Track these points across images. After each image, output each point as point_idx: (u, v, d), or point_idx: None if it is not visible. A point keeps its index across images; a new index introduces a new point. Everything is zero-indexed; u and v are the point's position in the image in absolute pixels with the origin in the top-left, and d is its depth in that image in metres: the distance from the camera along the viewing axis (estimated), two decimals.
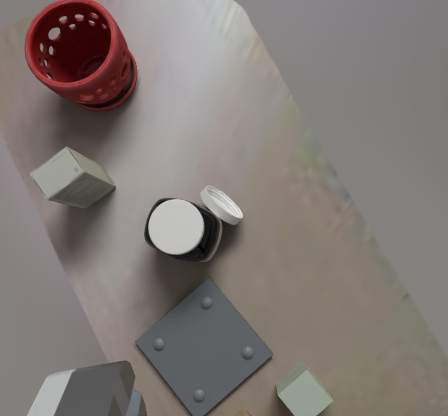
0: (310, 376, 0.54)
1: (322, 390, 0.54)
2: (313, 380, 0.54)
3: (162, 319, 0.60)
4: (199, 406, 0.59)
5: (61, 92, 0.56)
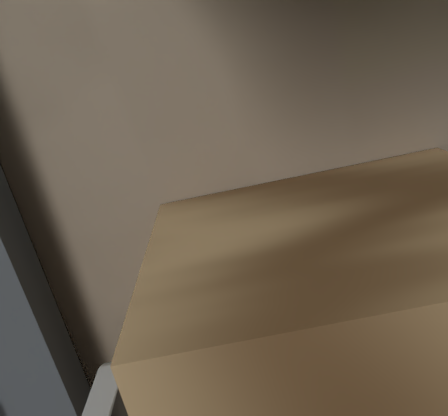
0: None
1: None
2: None
3: None
4: None
5: None
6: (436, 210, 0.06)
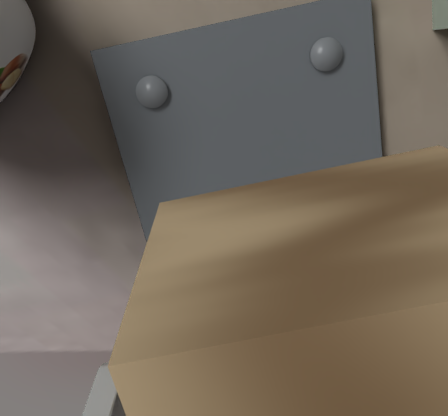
0: None
1: None
2: None
3: (142, 215, 0.24)
4: None
5: None
6: (438, 208, 0.06)
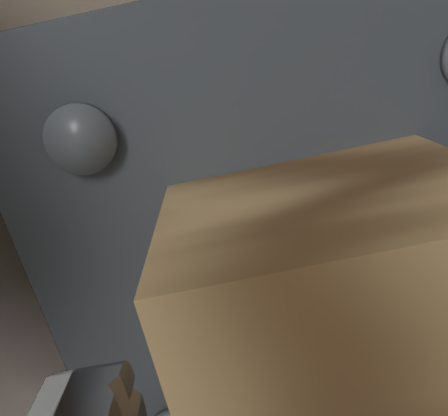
0: None
1: None
2: None
3: None
4: None
5: None
6: (407, 182, 0.07)
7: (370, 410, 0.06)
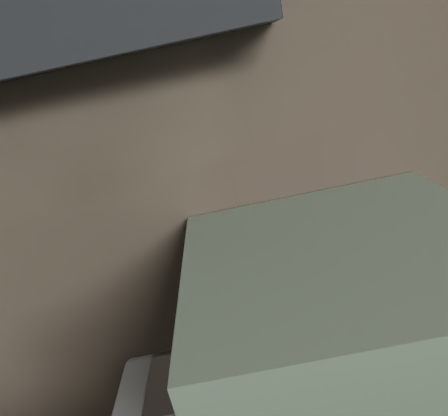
0: None
1: None
2: None
3: None
4: None
5: None
6: None
7: None
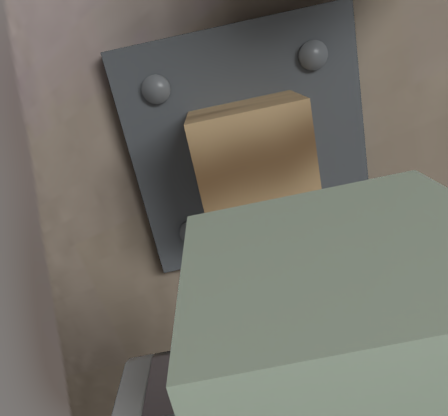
0: None
1: None
2: None
3: (190, 36, 0.23)
4: (181, 251, 0.27)
5: None
6: None
7: (265, 168, 0.21)
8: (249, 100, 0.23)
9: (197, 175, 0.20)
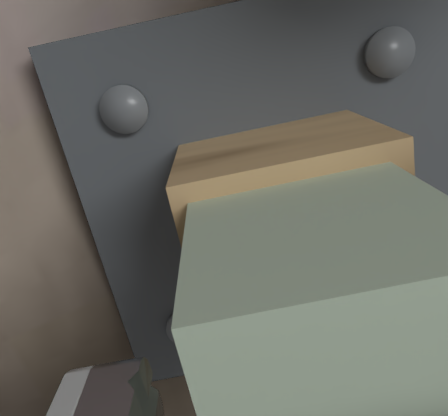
0: None
1: None
2: None
3: (181, 20, 0.13)
4: (169, 353, 0.18)
5: None
6: None
7: None
8: (282, 128, 0.14)
9: None
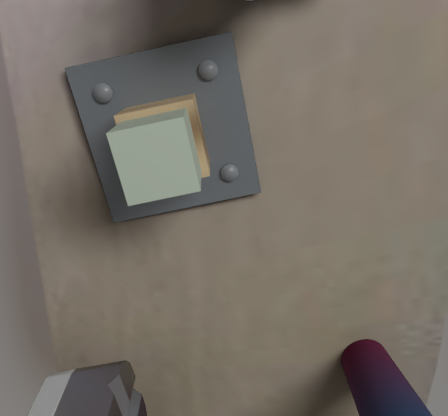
0: (183, 132, 0.27)
1: (192, 166, 0.27)
2: (186, 141, 0.27)
3: (124, 57, 0.34)
4: (125, 207, 0.39)
5: None
6: None
7: None
8: (165, 100, 0.35)
9: None
